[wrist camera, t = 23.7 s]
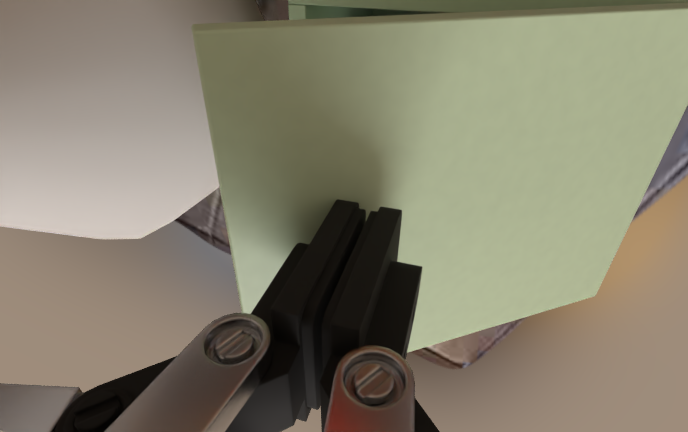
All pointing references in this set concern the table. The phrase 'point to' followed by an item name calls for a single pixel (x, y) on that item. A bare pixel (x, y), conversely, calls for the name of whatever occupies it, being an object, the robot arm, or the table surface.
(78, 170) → the vase
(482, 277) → the lid
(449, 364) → the table surface
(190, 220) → the table surface
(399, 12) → the chest
